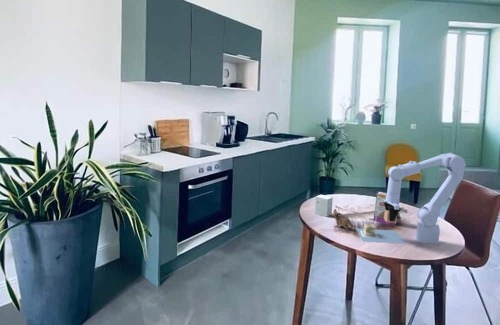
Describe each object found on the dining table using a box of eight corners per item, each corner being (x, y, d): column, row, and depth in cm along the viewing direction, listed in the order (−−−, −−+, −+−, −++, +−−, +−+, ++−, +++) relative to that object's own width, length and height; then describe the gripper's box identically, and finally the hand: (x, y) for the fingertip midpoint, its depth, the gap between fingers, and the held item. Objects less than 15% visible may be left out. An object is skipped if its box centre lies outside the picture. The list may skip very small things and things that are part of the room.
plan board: (395, 232, 184) (395, 230, 184) (406, 245, 168) (406, 243, 168) (355, 229, 185) (355, 228, 185) (362, 242, 170) (362, 241, 169)
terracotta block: (393, 219, 176) (394, 210, 175) (396, 222, 171) (397, 213, 170) (383, 218, 176) (384, 210, 175) (386, 222, 172) (387, 213, 171)
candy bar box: (372, 222, 197) (376, 193, 193) (375, 219, 201) (378, 191, 197) (394, 227, 191) (398, 197, 187) (396, 224, 195) (400, 195, 192)
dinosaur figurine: (327, 226, 188) (328, 210, 186) (332, 224, 192) (333, 207, 190) (351, 234, 179) (353, 216, 177) (356, 231, 183) (358, 213, 182)
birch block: (372, 232, 180) (373, 224, 179) (374, 236, 176) (375, 227, 175) (363, 232, 180) (364, 223, 179) (365, 235, 176) (366, 227, 175)
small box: (331, 215, 206) (333, 197, 204) (326, 217, 202) (328, 199, 200) (319, 211, 211) (320, 194, 209) (314, 213, 207) (315, 196, 205)
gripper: (380, 187, 178) (377, 213, 181) (389, 195, 164) (386, 224, 167) (395, 188, 178) (392, 214, 180) (405, 196, 164) (401, 225, 166)
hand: (390, 219), depth 174 cm, fingers closed on terracotta block, 4 cm apart
